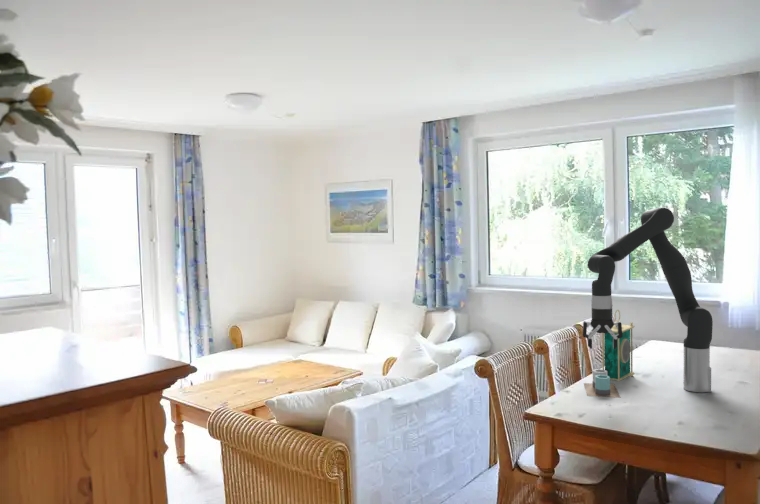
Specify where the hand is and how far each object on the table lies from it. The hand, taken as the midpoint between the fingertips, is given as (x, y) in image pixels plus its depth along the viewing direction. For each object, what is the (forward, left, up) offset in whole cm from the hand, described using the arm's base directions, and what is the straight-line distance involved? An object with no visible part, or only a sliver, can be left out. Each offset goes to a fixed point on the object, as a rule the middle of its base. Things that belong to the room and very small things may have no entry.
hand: (602, 348), depth 230 cm
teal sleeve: (0, 0, -18) cm, 18 cm away
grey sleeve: (0, -9, -18) cm, 20 cm away
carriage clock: (-9, -29, -19) cm, 36 cm away
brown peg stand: (0, -5, -19) cm, 20 cm away
